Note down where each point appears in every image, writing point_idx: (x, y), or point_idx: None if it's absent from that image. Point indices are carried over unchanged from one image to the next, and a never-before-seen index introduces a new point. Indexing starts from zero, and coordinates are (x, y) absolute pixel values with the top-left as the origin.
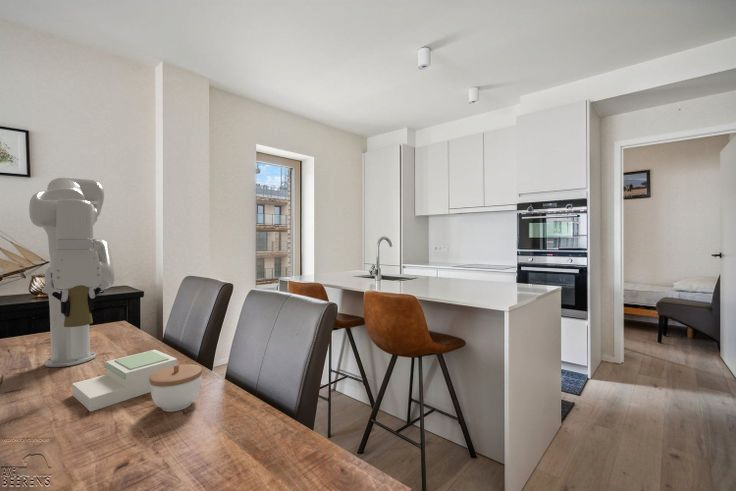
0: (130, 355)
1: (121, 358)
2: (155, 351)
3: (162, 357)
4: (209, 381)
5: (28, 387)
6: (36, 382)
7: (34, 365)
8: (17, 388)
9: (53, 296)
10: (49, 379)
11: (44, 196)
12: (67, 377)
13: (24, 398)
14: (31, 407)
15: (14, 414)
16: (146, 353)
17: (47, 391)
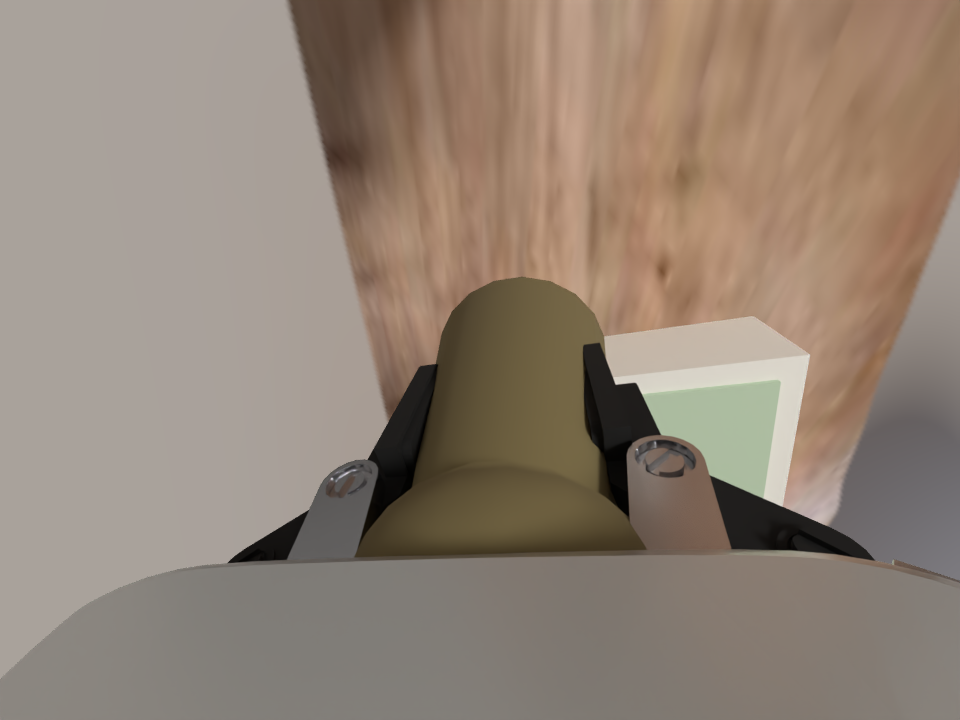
0: (694, 368)
1: (649, 401)
2: (791, 386)
3: (754, 489)
4: (798, 505)
5: (379, 152)
6: (394, 99)
7: None
8: (347, 133)
9: (265, 544)
10: (433, 92)
11: None
12: (492, 121)
13: (389, 273)
14: (417, 361)
15: (390, 379)
16: (745, 404)
17: (439, 255)
